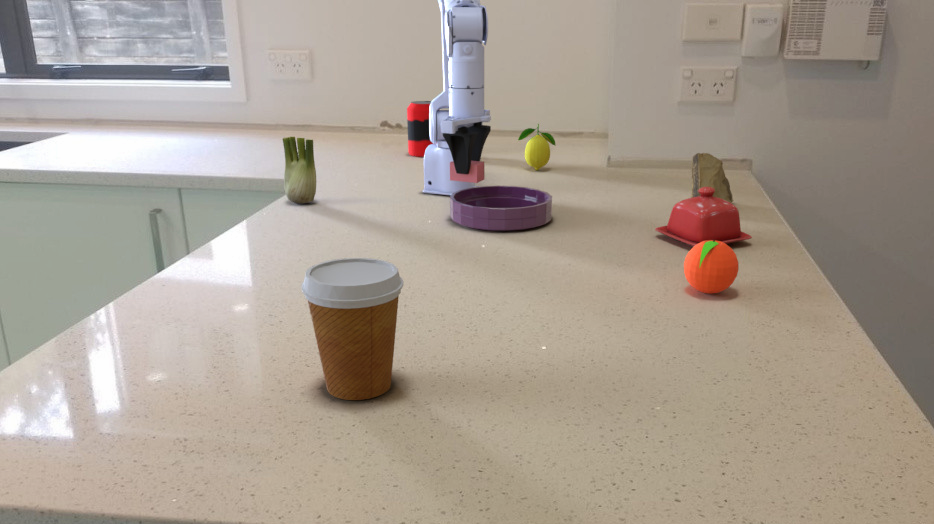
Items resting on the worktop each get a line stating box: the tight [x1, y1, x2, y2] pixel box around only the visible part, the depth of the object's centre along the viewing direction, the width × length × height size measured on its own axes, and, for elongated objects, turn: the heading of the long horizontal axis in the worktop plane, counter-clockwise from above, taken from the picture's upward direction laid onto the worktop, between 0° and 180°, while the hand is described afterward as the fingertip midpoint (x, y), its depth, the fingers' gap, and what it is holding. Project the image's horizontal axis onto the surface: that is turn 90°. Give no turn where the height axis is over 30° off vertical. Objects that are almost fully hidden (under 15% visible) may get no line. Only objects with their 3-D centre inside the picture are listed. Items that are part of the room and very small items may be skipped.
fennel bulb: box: [282, 136, 317, 205], centre depth 151 cm, size 6×5×12 cm
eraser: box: [450, 160, 485, 184], centre depth 140 cm, size 5×3×3 cm, turn 67°
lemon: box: [517, 123, 556, 171], centre depth 181 cm, size 7×6×10 cm
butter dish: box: [654, 187, 753, 248], centre depth 131 cm, size 12×12×8 cm
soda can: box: [406, 100, 433, 158], centre depth 197 cm, size 8×8×12 cm
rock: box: [690, 152, 734, 204], centre depth 152 cm, size 11×9×10 cm
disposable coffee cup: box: [300, 257, 404, 401], centre depth 81 cm, size 10×10×12 cm
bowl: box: [449, 185, 553, 232], centre depth 143 cm, size 17×17×4 cm
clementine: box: [683, 239, 740, 295], centre depth 108 cm, size 8×7×7 cm
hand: (467, 171), depth 140 cm, fingers closed on eraser, 3 cm apart
